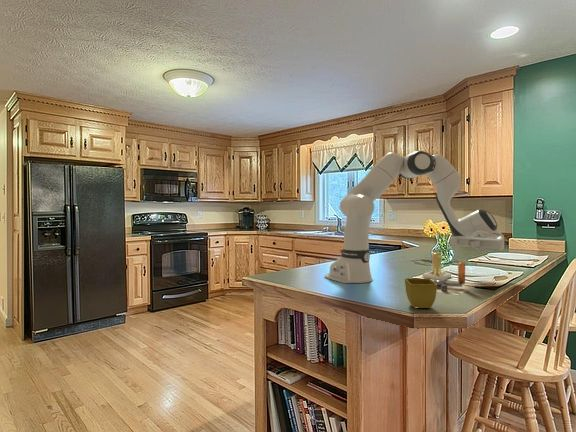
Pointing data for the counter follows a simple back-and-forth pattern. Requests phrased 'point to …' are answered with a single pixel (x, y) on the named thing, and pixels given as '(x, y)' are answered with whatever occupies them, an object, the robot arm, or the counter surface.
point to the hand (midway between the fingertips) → (469, 243)
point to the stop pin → (436, 264)
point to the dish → (442, 277)
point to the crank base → (453, 289)
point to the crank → (460, 277)
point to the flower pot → (420, 292)
